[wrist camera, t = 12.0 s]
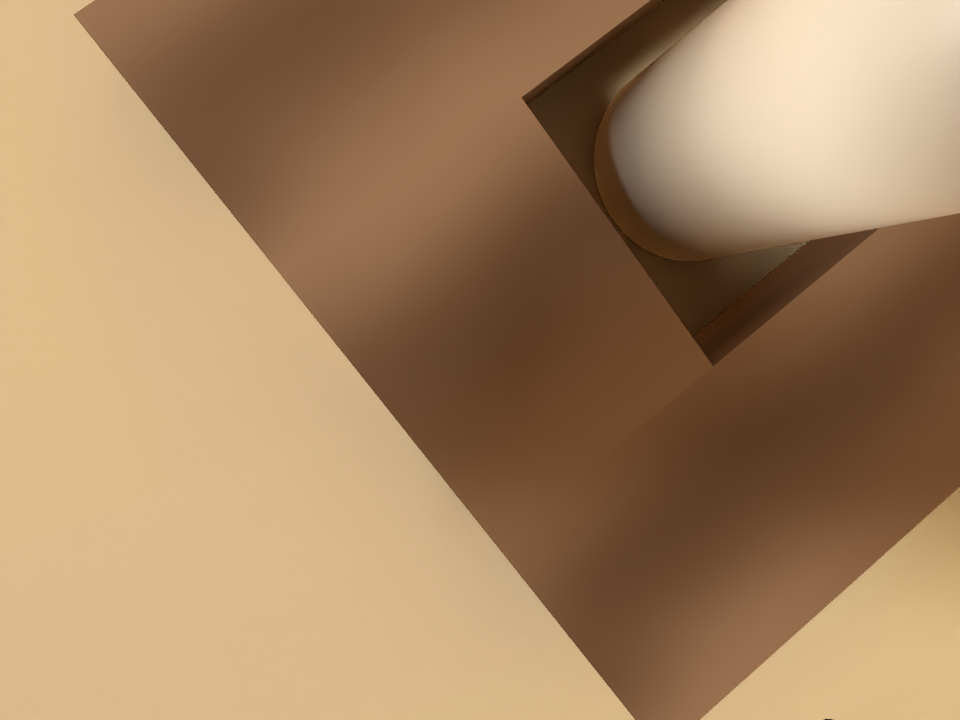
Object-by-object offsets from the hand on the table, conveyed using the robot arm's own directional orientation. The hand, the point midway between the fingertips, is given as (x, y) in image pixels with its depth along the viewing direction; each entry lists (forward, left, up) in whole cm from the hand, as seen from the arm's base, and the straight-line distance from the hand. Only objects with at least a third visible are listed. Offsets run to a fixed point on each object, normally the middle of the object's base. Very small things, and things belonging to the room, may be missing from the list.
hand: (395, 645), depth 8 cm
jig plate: (+1, -10, -10) cm, 14 cm away
